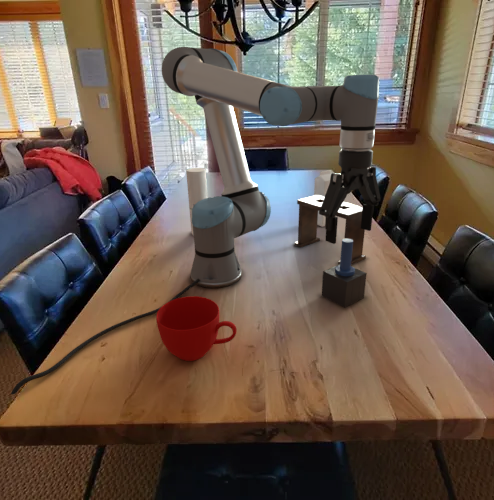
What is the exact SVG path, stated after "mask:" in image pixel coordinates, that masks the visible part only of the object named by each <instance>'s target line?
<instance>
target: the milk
mask: <svg viewBox="0 0 494 500" xmlns="http://www.w3.org/2000/svg"><path fill="white" fill-rule="evenodd" d="M331 174H332V169H327V170H322V171H321V170H320V172H319V175H318V176H316V177H315V178H314V188H313V196H315V195H320V196H324V197H325V195H326V192H327V189H328V187H329V184H330V178H331ZM325 220H326V217H325V216H323V215H320V214H319V211H318V220H317V226H320V227H322V228H323V227H325Z"/></svg>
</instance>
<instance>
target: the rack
mask: <svg viewBox="0 0 494 500" xmlns="http://www.w3.org/2000/svg"><path fill="white" fill-rule="evenodd" d="M323 200H324V196H320V195H315V196H314V195H311V196H308V197H302V198H300V199H299V198H298V199H296V204H297V205H298V225H297V230H298V231H297V241H294V242H293V245H294V246H296V247H298V248H303V247H306V246H309V245H312V244H315V243H317V242H320V241H321V238H320V237H317V236H318V225H317V220H318V211H320V208H321V205H322V203H323ZM362 208H363V206H361V205H357V204H353V203H350V202H346V201H343V203H342V205H341V207H340V209H339V210H338V212H337V214H336V216H335V217H338V218H341V219H345V225H344V226H345V227H344V236H343V239H345V238H348V239H352V240H353V250H352V260H351V266H352V265H355V264H357V263H359V262H361V261H363V260H365V259H366V258H367V256H366V255H364V254H363V250H364V242H365V231H366V230H365V229H361V219H362ZM325 211H326V210H325ZM339 264H340V260H338V262H337V265H339Z"/></svg>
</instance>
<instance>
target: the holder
mask: <svg viewBox="0 0 494 500" xmlns="http://www.w3.org/2000/svg"><path fill="white" fill-rule="evenodd" d="M338 265H340V264H337V265H335V266H332V267H330V268H327V269H325V270H323V271H322V281H321V296H322V297H323V298H325V299H327V300H329V301H331V302H332V303H334V304H336V305H338V306H340V307H342V308H347V307H349V306H351V305H353V304H354V303H356V302H358V301H361V300H363V299H364V298H365V291H366V283H367V276H368V275H367V274H368V273H367V272H365V271H363V270H361V269H358V268H356V267H354V268H355V273H354V275H352V276H341V275H338V274H337V273H336V272H335V267H336V266H338Z"/></svg>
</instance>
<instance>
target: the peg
mask: <svg viewBox="0 0 494 500" xmlns="http://www.w3.org/2000/svg"><path fill="white" fill-rule="evenodd" d="M352 250H353V240H352V239H348V238H345V239H344V238H342V239H341V248H340V259H339V261H340V265H339V264H337V265H338V266H337V265H335V266H336V267H335V272H336V273H337V274H338V275H341V276H352V275H354V273H355V268H356V267H354V266H352V265H351V260H352Z"/></svg>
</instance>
